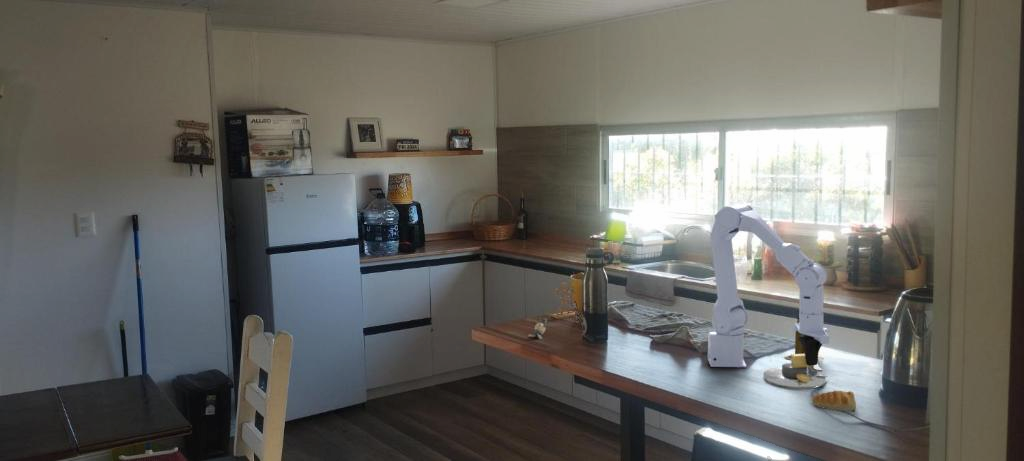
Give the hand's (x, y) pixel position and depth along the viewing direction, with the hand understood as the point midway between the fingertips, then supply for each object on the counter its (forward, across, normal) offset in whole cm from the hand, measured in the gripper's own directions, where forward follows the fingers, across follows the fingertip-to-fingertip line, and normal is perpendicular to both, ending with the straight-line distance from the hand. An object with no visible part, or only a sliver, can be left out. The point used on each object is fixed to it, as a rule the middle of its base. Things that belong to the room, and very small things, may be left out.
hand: (811, 364), depth 200 cm
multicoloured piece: (+3, 0, +3) cm, 4 cm away
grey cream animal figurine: (+2, +56, +62) cm, 84 cm away
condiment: (+4, +18, -7) cm, 20 cm away
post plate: (+4, +1, +4) cm, 6 cm away
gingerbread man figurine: (+2, +81, +50) cm, 95 cm away
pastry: (+5, -18, +3) cm, 19 cm away
